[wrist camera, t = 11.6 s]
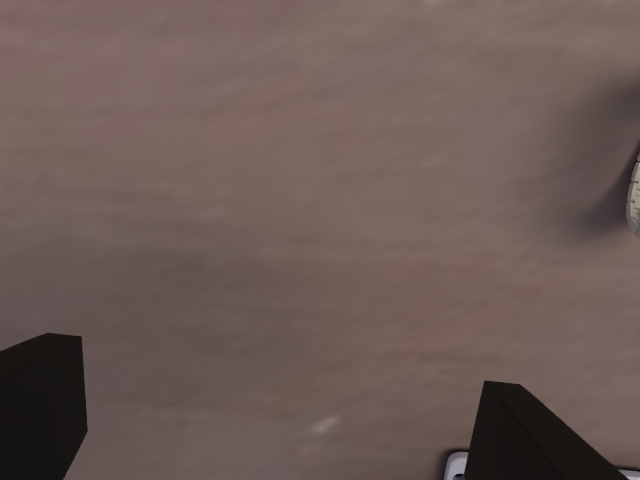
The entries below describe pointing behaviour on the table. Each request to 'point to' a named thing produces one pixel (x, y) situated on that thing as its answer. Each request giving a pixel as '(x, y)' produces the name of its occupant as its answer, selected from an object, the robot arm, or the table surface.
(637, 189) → the wristwatch
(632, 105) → the table surface
